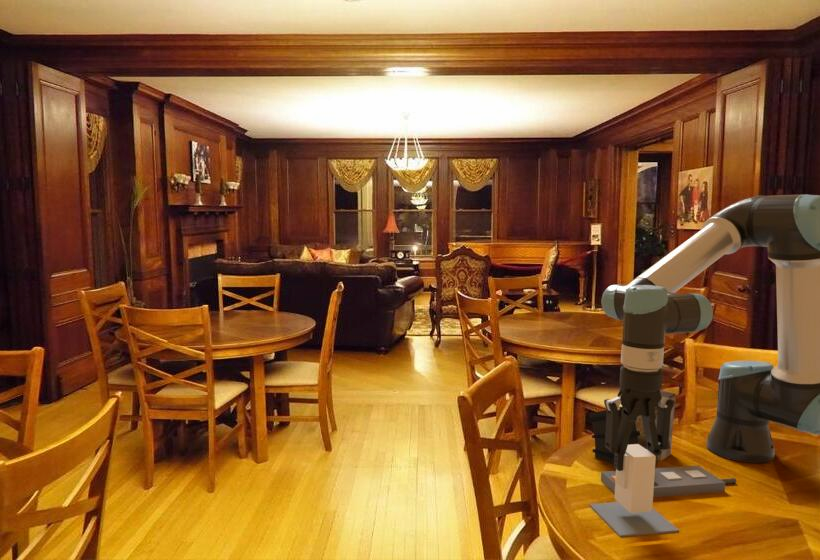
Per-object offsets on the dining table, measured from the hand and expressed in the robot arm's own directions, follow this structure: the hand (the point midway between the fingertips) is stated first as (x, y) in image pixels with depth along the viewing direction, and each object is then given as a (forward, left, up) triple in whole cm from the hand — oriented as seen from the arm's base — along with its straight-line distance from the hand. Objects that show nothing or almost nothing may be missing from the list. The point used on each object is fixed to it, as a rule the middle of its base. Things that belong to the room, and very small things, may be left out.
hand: (634, 484), depth 118 cm
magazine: (-10, -26, -8) cm, 29 cm away
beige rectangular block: (0, 0, -4) cm, 4 cm away
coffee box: (-22, -30, -8) cm, 38 cm away
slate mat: (0, 0, -7) cm, 7 cm away
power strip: (-17, -12, -7) cm, 22 cm away
